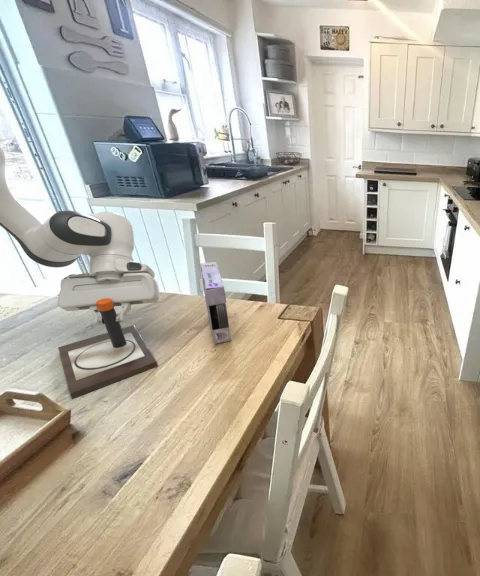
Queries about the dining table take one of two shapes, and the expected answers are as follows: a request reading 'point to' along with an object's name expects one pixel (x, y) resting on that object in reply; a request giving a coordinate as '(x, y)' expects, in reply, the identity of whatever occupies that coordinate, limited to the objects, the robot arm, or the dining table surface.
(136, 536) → the dining table surface
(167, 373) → the dining table surface
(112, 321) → the marker
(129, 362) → the picture frame
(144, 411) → the dining table surface
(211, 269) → the cake pan box
